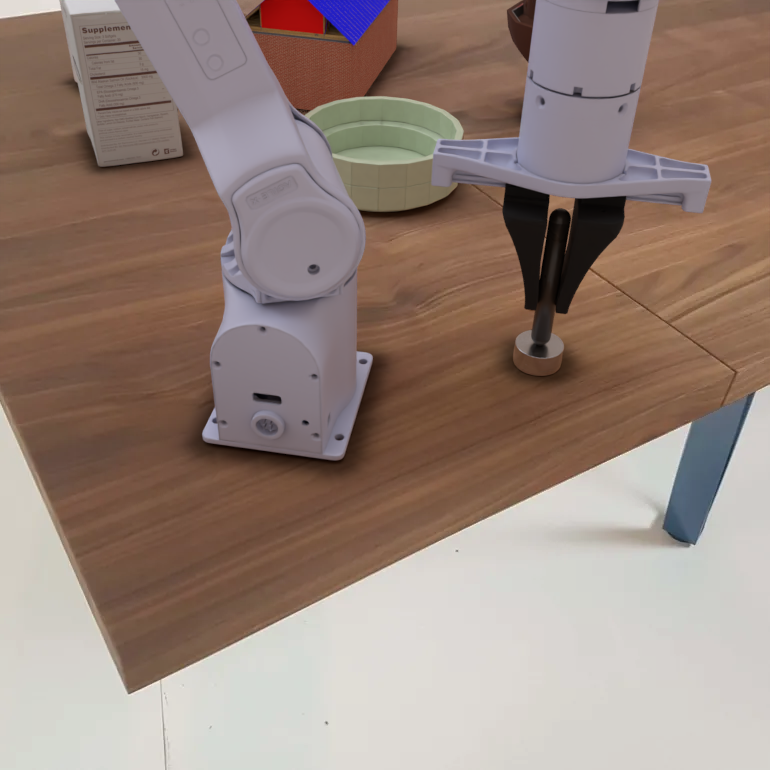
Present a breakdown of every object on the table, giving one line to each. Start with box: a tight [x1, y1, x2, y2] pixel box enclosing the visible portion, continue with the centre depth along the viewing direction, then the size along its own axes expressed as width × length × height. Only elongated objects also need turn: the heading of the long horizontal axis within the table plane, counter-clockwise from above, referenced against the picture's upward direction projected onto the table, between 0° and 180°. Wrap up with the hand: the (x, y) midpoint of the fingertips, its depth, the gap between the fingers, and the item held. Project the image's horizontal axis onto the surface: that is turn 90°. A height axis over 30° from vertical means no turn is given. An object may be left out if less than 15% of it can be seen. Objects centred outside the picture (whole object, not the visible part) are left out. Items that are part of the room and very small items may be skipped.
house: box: [244, 0, 399, 111], centre depth 91 cm, size 12×20×12 cm, turn 167°
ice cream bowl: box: [506, 0, 536, 63], centre depth 83 cm, size 11×11×15 cm
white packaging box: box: [62, 0, 184, 168], centre depth 76 cm, size 7×7×13 cm
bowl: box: [303, 95, 465, 213], centre depth 75 cm, size 13×13×4 cm
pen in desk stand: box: [512, 207, 572, 377], centre depth 54 cm, size 3×3×11 cm
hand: (546, 302), depth 54 cm, fingers closed on pen in desk stand
